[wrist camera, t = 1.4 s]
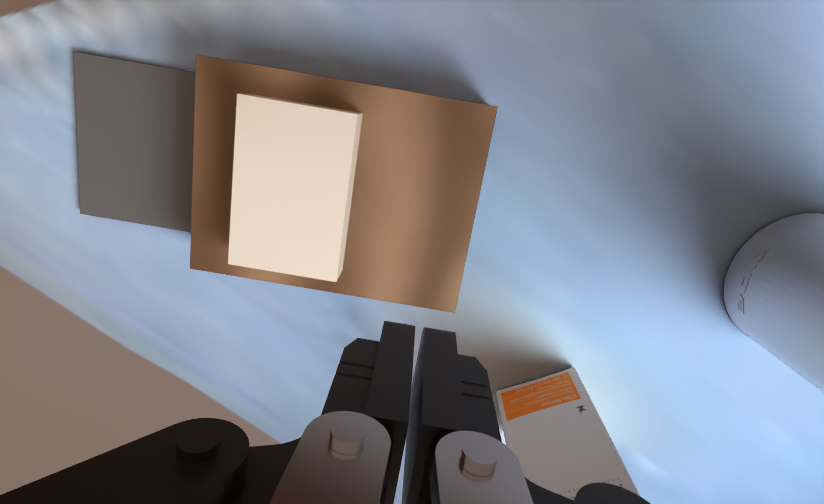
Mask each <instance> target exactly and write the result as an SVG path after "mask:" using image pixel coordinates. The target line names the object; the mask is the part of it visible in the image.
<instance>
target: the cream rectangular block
mask: <svg viewBox="0 0 824 504" xmlns="http://www.w3.org/2000/svg"><path fill="white" fill-rule="evenodd" d="M362 115H363V113H358V112H352V111H346V110H341V109H335V108H329V107H323V106H317V105H311V104H306V103H300V102H294V101H288V100H282V99H277V98H271V97H265V96H259V95H253V94H237V105H236V123H235V142H234V161H233V179H232V198H231V217H230V235H229V254H228V264H230V265H236V266H242V267H248V268H254V269H260V270H266V271H272V272H278V273H284V274H290V275H296V276H302V277H308V278H314V279H320V280H326V281H332V282H337V280H338V278H339V276H340V274H341V272H342V270H343V262H344V254H345V247H346V239H347V231H348V223H349V216H350V208H351V200H352V192H353V185H354V177H355V169H356V162H357V154H358V146H359V138H360V131H361V123H362Z"/></svg>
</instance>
